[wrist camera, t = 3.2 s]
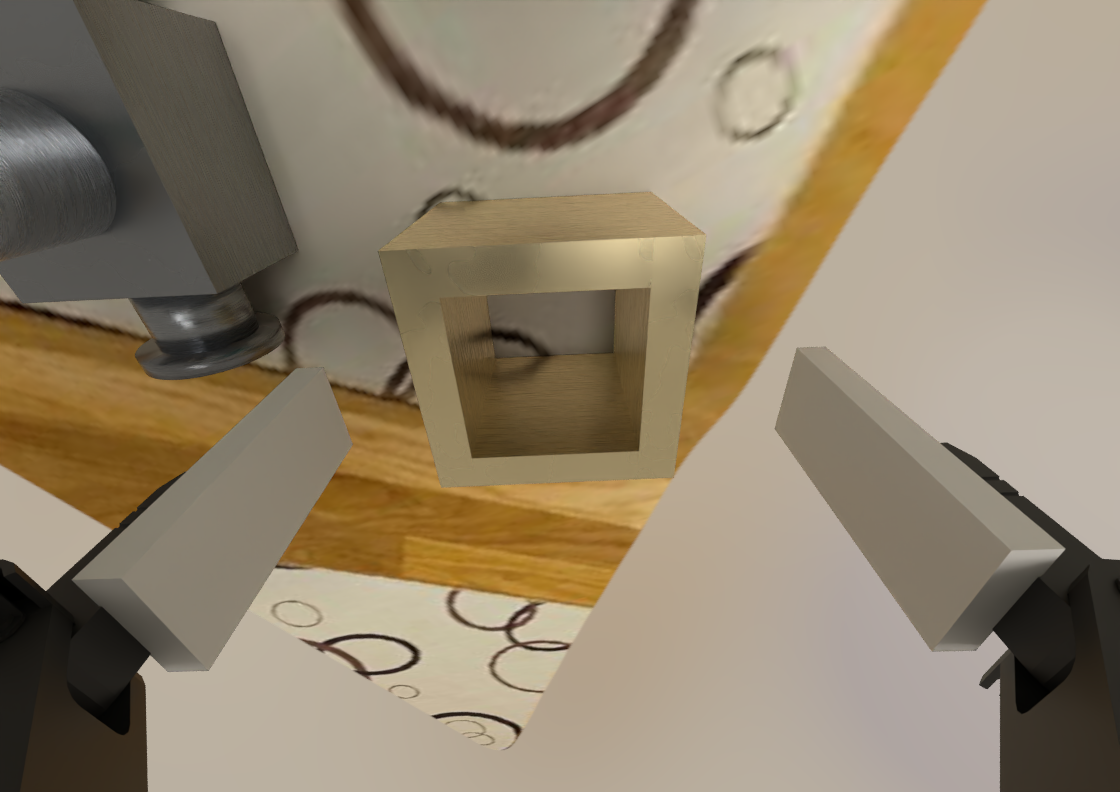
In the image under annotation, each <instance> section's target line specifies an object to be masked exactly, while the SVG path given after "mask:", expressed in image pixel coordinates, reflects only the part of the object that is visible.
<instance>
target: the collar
mask: <svg viewBox="0 0 1120 792" xmlns="http://www.w3.org/2000/svg"><path fill="white" fill-rule="evenodd" d="M705 241H706V234H704V233H703V232H702V231H701V230H699V229H698V228H697V227H695V226H694V225H693V224H692V223H690V222H689V221H688V220H686V219H685V218H684V217H683V216H681V215H680V214H679V213H677V212H676V211H675V210H674V209H672V208H671V207H670V206H668V205H667V204H666V203H665V202H663V201H662V200H661V199H659V198H658V197H657V196H656V195H654V194H653V193H652V192H639V193H619V194H599V195H580V196H560V197H540V198H520V199H500V200H480V201H460V202H441V203H439V204H438V205H436V206H435V207H434V208H433V209H431V210H430V211H429V212H427V213H426V214H425V215H424V216H422V217H421V218H420V219H418V220H417V221H416V222H415V223H413V224H412V225H411V226H409V227H408V228H407V229H406V230H404V231H403V232H402V233H400V234H399V235H398V236H397V237H395V238H394V239H393V240H392V241H390V242H389V243H388V244H386V245H385V246H384V247H383V248H381V249H380V250H379V251H378V253H379V257H380V260H381V264H382V268H383V272H384V275H385V279H386V283H387V287H388V290H389V294H390V298H391V301H392V305H393V309H394V313H395V316H396V320H397V324H398V328H399V331H400V335H401V339H402V343H403V346H404V350H405V354H406V358H407V361H408V365H409V369H410V373H411V376H412V380H413V384H414V387H415V391H416V395H417V399H418V402H419V406H420V410H421V414H422V417H423V421H424V425H425V429H426V432H427V436H428V440H429V444H430V447H431V451H432V455H433V458H434V462H435V466H436V470H437V473H438V477H439V481H440V485H441V488H443V487H466V486H490V485H513V484H536V483H559V482H583V481H606V480H629V479H653V478H674V471H675V464H676V456H677V449H678V441H679V434H680V426H681V419H682V411H683V404H684V397H685V389H686V382H687V374H688V367H689V359H690V352H691V345H692V337H693V330H694V322H695V315H696V307H697V300H698V293H699V285H700V278H701V270H702V263H703V255H704V248H705ZM612 289H615V322H614V353H598V354H576V355H554V356H533V357H511V358H495V353H494V346H493V339H492V332H491V325H490V318H489V311H488V304H487V296H486V295H507V294H528V293H549V292H570V291H591V290H612Z"/></svg>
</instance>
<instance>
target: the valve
mask: <svg viewBox="0 0 1120 792" xmlns="http://www.w3.org/2000/svg"><path fill="white" fill-rule="evenodd" d="M296 251H298V249H297V246H296V243H295V240H294V238H293V235H292V232H291V230H290V227H289V224H288V221H287V219H286V216H285V213H284V210H283V208H282V205H281V202H280V199H279V197H278V194H277V191H276V189H275V186H274V183H273V180H272V178H271V175H270V172H269V169H268V167H267V164H266V161H265V158H264V156H263V153H262V150H261V148H260V145H259V142H258V139H257V137H256V134H255V131H254V128H253V126H252V123H251V120H250V117H249V115H248V112H247V109H246V106H245V104H244V101H243V98H242V96H241V93H240V90H239V87H238V85H237V82H236V79H235V76H234V74H233V71H232V68H231V65H230V63H229V60H228V57H227V55H226V52H225V49H224V46H223V44H222V41H221V38H220V35H219V33H218V30H217V27H216V24H215V22H213V21H210V20H206V19H203V18H199V17H195V16H192V15H188V14H184V13H181V12H177V11H174V10H170V9H166V8H163V7H159V6H155V5H152V4H148V3H145V2H141V1H137V0H0V274H1V276H2V277H3V278H4V280H5V281H6V282H7V284H8V285H9V286H10V288H11V289H12V290H13V291H14V293H15V294H16V295H17V297H18V298H19V299H20V301H21V302H22V303H37V302H58V301H79V300H100V299H120V298H128V299H129V300H130V302H131V304H132V305H133V307H134V309H135V310H136V312H137V313H138V315H139V317H140V318H141V320H142V322H143V323H144V325H145V327H146V328H147V330H148V331H149V333H150V335H151V336H152V339H150V340H149V341H147V342H146V343H144V344H143V345H142V346H141V347H139V348H138V350H137V351H136V353H135V358H136V359H137V361H138V362H139V364H140V365H141V367H142V368H143V370H144V371H145V373H146V374H147V375H148V376H150V377H152V378H156V379H162V380H180V379H190V378H197V377H202V376H207V375H212V374H216V373H220V372H224V371H227V370H230V369H233V368H236V367H239V366H242V365H245V364H247V363H250V362H252V361H254V360H256V359H258V358H261V357H262V356H264V355H266V354H268V353H269V352H271V351H273V350H274V349H275V348H277V347H278V346H279V345H280V344H281V343H282V342H283V340H284V338H285V333H284V331H283V329H282V326H281V324H280V321H279V319H278V318H277V317H276V316H274V315H271V314H267V313H258V312H253V309H252V307H251V305H250V303H249V301H248V298H247V296H246V294H245V292H244V290H243V287H242V285H241V283H240V281H242V280H244V279H246V278H248V277H250V276H251V275H253V274H255V273H257V272H259V271H261V270H263V269H265V268H266V267H268V266H270V265H272V264H274V263H276V262H278V261H280V260H281V259H283V258H285V257H287V256H289V255H291V254H293V253H295V252H296Z"/></svg>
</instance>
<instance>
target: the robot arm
mask: <svg viewBox="0 0 1120 792" xmlns="http://www.w3.org/2000/svg"><path fill="white" fill-rule="evenodd" d="M775 430H776V431H777V433H778V434H779V436H780V437H781V438H782V440H783V441H784V443H785V444H786V445H787V447H788V448H789V450H790V451H791V452H792V454H793V455H794V457H795V458H796V459H797V461H798V462H799V464H800V465H801V467H802V468H803V470H804V471H805V472H806V474H807V475H808V477H809V478H810V479H811V481H812V482H813V484H814V485H815V487H816V488H817V489H818V491H819V492H820V494H821V495H822V496H823V498H824V499H825V501H826V502H827V504H828V505H829V506H830V508H831V509H832V511H833V512H834V513H835V515H836V516H837V518H838V519H839V520H840V522H841V523H842V525H843V526H844V528H845V529H846V530H847V532H848V533H849V534H850V536H851V537H852V539H853V540H854V542H855V543H856V545H857V546H858V547H859V549H860V550H861V552H862V553H863V555H864V556H865V557H866V559H867V560H868V562H869V563H870V564H871V566H872V567H873V569H874V570H875V572H876V573H877V574H878V576H879V577H880V578H881V580H882V581H883V583H884V584H885V586H886V587H887V588H888V590H889V591H890V593H891V594H892V596H893V597H894V598H895V600H896V601H897V603H898V604H899V605H900V607H901V608H902V610H903V611H904V613H905V614H906V615H907V617H908V618H909V620H910V621H911V623H912V624H913V625H914V627H915V628H916V630H917V631H918V632H919V634H920V635H921V637H922V638H923V640H924V641H925V642H926V644H927V645H928V647H929V648H930V649H931V651H932V652H936V651H972V650H973V651H974V650H977V649H978V647H979V646H980V645H981V644H982V643H983V642H984V641H985V640H986V638H987V637H988V636H989V635H990V634H991V633H992V632H993V631H994V632H995V633H996V634H997V635H998V637H999V638H1000V639H1001V640H1002V641H1003V642H1004V643H1005V645H1006V646H1007V647H1008V648H1009V649H1008V650H1007V651H1006V652H1005V653H1004V654H1003V655H1002V656H1001V657H1000V659H998V661H996V662H995V664H994V665H993V666H992V667H991V668H990V669H989V670H988V671H987V672H986V673H985V674H984V675H983V677H982V679H981V681H980V684H979V685H980V686H982V687H984V688H985V689H988V688H989V687H990V686H991V685H992V684H993V683H994V682H995V681H996V680H997V679H1000V695H999V696H1000V792H1120V560H1111V559H1110V560H1109V559H1102V558H1100V557H1099V556H1098V555H1096V554H1095V553H1094V552H1093V551H1091V550H1090V549H1089V548H1087V547H1086V546H1085V545H1084V544H1083V543H1081V542H1080V541H1079V540H1078V539H1076V538H1075V537H1074V536H1073V535H1071V534H1070V533H1069V532H1068V531H1066V530H1065V529H1064V528H1062V526H1060V525H1059V524H1058V523H1057V522H1055V521H1054V520H1053V519H1052V518H1050V517H1049V516H1048V515H1046V514H1045V513H1044V512H1043V511H1042V510H1040V509H1039V508H1038V507H1036V506H1035V505H1034V504H1033V503H1031V502H1030V501H1029V500H1028V499H1027V498H1025V497H1024V496H1019V494H1018V491H1017V490H1015V489H1014V488H1013V487H1011V486H1010V485H1009V484H1008V483H1007V482H1006V481H1004V480H1000V479H999V476H998V475H997V474H996V473H994V472H993V471H992V470H991V469H989V468H988V467H987V466H986V465H984V464H983V463H982V462H980V461H979V460H978V459H977V458H975V457H973V456H971V455H970V454H968V453H966V452H964V451H962V450H960V449H958V448H956V447H954V446H952V445H950V444H949V443H939V442H938V441H937V440H936V439H934V438H933V437H932V436H931V435H930V434H928V433H927V432H926V431H925V430H924V429H922V428H921V427H920V426H919V425H918V424H917V423H915V422H914V421H913V420H912V419H910V418H909V417H908V416H907V415H906V414H905V413H904V412H902V411H901V410H900V409H899V408H898V407H896V406H895V405H894V404H893V403H892V402H890V401H889V400H888V399H887V398H886V397H884V396H883V395H882V394H881V393H880V392H879V391H877V390H876V389H875V388H874V387H873V386H871V385H870V384H869V383H868V382H867V381H865V380H864V379H863V378H862V377H861V376H860V375H858V374H857V373H856V372H855V371H853V370H852V369H851V368H850V367H849V366H848V365H846V364H845V363H844V362H843V361H842V360H840V359H839V358H838V357H837V356H836V355H835V354H833V353H832V352H831V351H830V350H829V349H827V348H826V347H807V348H797V349H796V353H795V357H794V361H793V364H792V367H791V371H790V375H789V379H788V382H787V386H786V389H785V393H784V397H783V400H782V404H781V408H780V411H779V415H778V418H777V422H776V426H775ZM352 445H353V443H352V441H351V438H350V436H349V433H348V430H347V428H346V425H345V423H344V420H343V417H342V415H341V412H340V409H339V407H338V404H337V402H336V399H335V396H334V394H333V391H332V389H331V386H330V383H329V381H328V378H327V375H326V373H325V370H324V368H323V367H316V368H296V369H295V370H294V371H293V372H292V373H291V374H290V375H289V376H288V377H287V378H286V379H284V380H283V381H282V382H281V383H280V384H279V385H278V386H277V387H276V388H275V389H274V390H273V391H272V392H271V393H270V394H269V395H267V396H266V397H265V398H264V399H263V400H262V401H261V402H260V403H259V404H258V405H257V406H256V407H255V408H254V409H253V410H252V411H250V412H249V413H248V414H247V415H246V416H245V417H244V418H243V419H242V420H241V421H240V422H239V423H238V424H237V425H236V426H235V427H233V428H232V429H231V430H230V431H229V432H228V433H227V434H226V435H225V436H224V437H223V438H222V439H221V440H220V441H219V442H217V443H216V444H215V445H214V446H213V447H212V448H211V449H210V450H209V451H208V452H207V453H206V454H205V455H204V456H203V457H202V458H200V459H199V460H198V461H197V462H196V463H195V464H194V465H193V466H192V467H191V468H190V469H189V470H188V471H187V472H184V473H182V474H181V475H179V476H177V477H176V478H174V479H173V480H171V481H169V482H168V483H166V484H165V485H163V486H161V487H160V488H158V489H157V490H156V491H155V492H154V493H153V494H152V495H150V496H149V497H148V498H147V499H146V500H145V501H144V502H143V503H142V504H141V505H140V506H138V507H137V511H136V512H132V513H131V514H130V515H129V516H127V517H126V518H125V519H124V520H123V521H122V522H121V523H120V527H119V528H114V529H113V530H112V531H111V532H110V533H109V534H108V535H107V536H106V537H105V538H104V539H102V540H101V541H100V542H99V543H98V544H97V545H96V546H95V547H94V548H93V549H92V550H90V551H89V552H88V553H87V554H86V555H85V556H84V557H83V558H82V559H81V560H80V561H78V562H77V563H76V564H75V565H74V566H73V567H72V568H71V569H70V570H69V571H67V572H66V573H65V574H64V575H63V576H62V577H61V578H60V579H59V580H58V581H57V582H55V583H54V584H53V585H52V586H51V587H50V588H49V589H48V590H47V591H45V590H44V589H43V588H41V587H40V586H39V585H38V584H37V583H36V582H35V581H34V580H32V579H31V578H30V577H29V576H28V575H27V574H26V573H24V572H23V571H22V570H21V569H20V568H19V567H18V566H17V565H15V564H14V563H12V562H9V561H6V560H3V559H2V560H0V792H148V785H147V784H148V781H147V735H146V692H145V691H146V690H145V683H144V681H143V678H142V676H140V675H139V674H138V673H137V671H138V670H139V669H140V667H141V666H142V665H143V663H144V662H145V661H146V660H147V658H148V657H149V656H150V655H151V656H152V657H153V658H154V659H155V660H156V661H157V662H158V663H159V664H160V665H161V666H162V667H163V668H164V669H166V671H168V672H182V671H209V669H210V668H211V666H212V665H213V663H214V662H215V660H216V658H217V657H218V655H219V654H220V652H221V651H222V649H223V647H224V646H225V644H226V643H227V641H228V640H229V638H230V637H231V635H232V633H233V632H234V630H235V629H236V627H237V626H238V624H239V622H240V621H241V619H242V618H243V616H244V615H245V613H246V611H247V610H248V608H249V607H250V605H251V604H252V602H253V600H254V599H255V597H256V596H257V594H258V593H259V591H260V589H261V588H262V586H263V585H264V583H265V582H266V580H267V578H268V577H269V575H270V574H271V572H272V571H273V569H274V567H275V566H276V564H277V563H278V561H279V560H280V558H281V556H282V555H283V553H284V552H285V550H286V549H287V547H288V545H289V544H290V542H291V541H292V539H293V538H294V536H295V535H296V533H297V531H298V530H299V528H300V527H301V525H302V524H303V522H304V520H305V519H306V517H307V516H308V514H309V513H310V511H311V509H312V508H313V506H314V505H315V503H316V502H317V500H318V498H319V497H320V495H321V494H322V492H323V491H324V489H325V487H326V486H327V484H328V483H329V481H330V480H331V478H332V476H333V475H334V473H335V472H336V470H337V469H338V467H339V465H340V464H341V462H342V461H343V459H344V458H345V456H346V454H347V453H348V451H349V450H350V448H351V447H352Z"/></svg>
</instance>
